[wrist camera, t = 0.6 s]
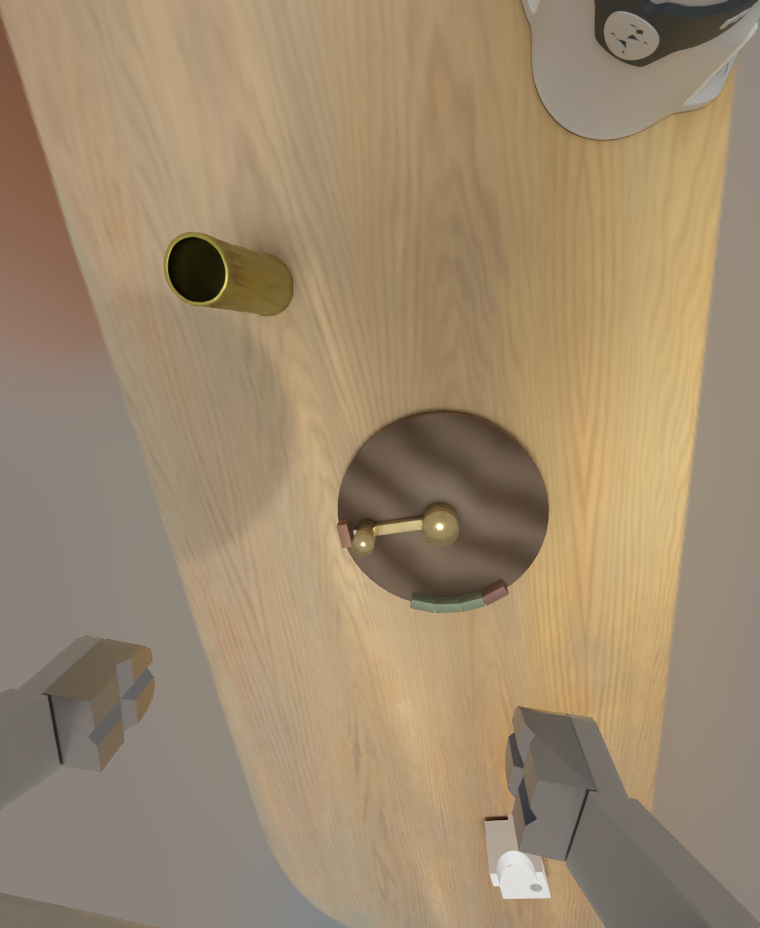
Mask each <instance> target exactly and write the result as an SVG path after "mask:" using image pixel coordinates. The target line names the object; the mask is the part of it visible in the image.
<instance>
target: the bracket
mask: <svg viewBox="0 0 760 928" xmlns="http://www.w3.org/2000/svg"><path fill="white" fill-rule="evenodd" d="M485 830H486V841H487V851H488V861H489V871H490V876H491V880H492V883H493V886H500V889H501V892H502V895H503V899H521V898H551V896H550V891H549V886H548V881H547V876H546V871H545V867H544V863H543V859H542V857H541V856H537V855H532V854H528V853H523V852H519V850H518V844H517V838H516V833H515V827H514V821H513V815H508V820H499V821H485Z"/></svg>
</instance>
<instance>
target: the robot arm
mask: <svg viewBox="0 0 760 928" xmlns="http://www.w3.org/2000/svg"><path fill="white" fill-rule="evenodd" d="M522 4H523V8H524V11H525V13H526V16H527V19H528V21H529V24H530V26H531V35H532V69H533V76H534V80H535V84H536V88H537V91H538V93H539V96H540V98H541V100H542V102H543V104H544V106H545V107H546V109H547V110H548V112H549V113H550V114H551V115H552V117H553V118H554V119H555V120H556V121H557V122H558V123H559V124H561V125H562V126H563V127H564V128H566V129H568V130H569V131H571V132H573V133H575V134H577V135H580V136H583V137H586V138H591V139H599V140H609V139H617V138H622V137H626V136H629V135H632V134H635V133H637V132H639V131H642V130H644V129H646V128H648V127H649V126H651V125H653V124H654V123H656V122H658V121H659V120H661V119H663V118H664V117H666V116H668V115H670V114H673V113H678V112H685V111H691V110H696V109H699V108H702V107H705V106H707V105H708V104H710V103H711V102H712V101H713V100H714V99H715V98H716V96H717V95H718V94H719V93H720V92H721V90H722V88H723V86H724V84H725V82H726V80H727V78H728V75H729V73H730V71H731V69H732V67H733V65H734V62H735V60H736V58H737V56H738V54H739V52H740V49H741V48H742V47H743V46H744V45H745V44H746V43H747V42H748V41H749V40H750V38H751V37H752V36H753V35H754V33H755V32H756V30H757V28H758V23H757V20H758V18H759V16H760V0H522ZM152 661H153V660H152V653H151V649H150V648H148V647H146V646H141V645H136V644H131V643H126V642H120V641H115V640H110V639H102V638H97V637H92V636H87V635H86V636H83V637H80V638H77V639H76V640H75V641H74V642H73V643H71V644H70V645H69V646H68V647H67V648H65V650H63V651H62V652H61V653H60V654H58V655H57V656H56V657H55V658H54V659H53V660H52V661H50V662H49V663H48V664H47V665H46V666H44V667H43V668H42V669H41V670H40V671H39V672H37V673H36V674H35V675H34V676H33V677H31V678H30V679H29V680H28V681H27V682H26V683H24V684H23V685H22V686H21V687H20V688H19V689H17V690H14V689H9V690H6V691H4V692H2V693H0V810H1V809H2V808H3V807H5V806H7V805H8V804H9V803H11V802H12V801H14V800H15V799H17V798H18V797H20V796H21V795H23V794H24V793H26V792H27V791H28V790H30V789H31V788H33V787H34V786H36V785H37V784H39V783H40V782H42V781H43V780H45V779H46V778H48V777H49V776H50V775H52V774H53V773H55V772H56V771H58V770H59V769H60V768H61V766H66V767H73V768H79V769H85V770H92V771H99V772H101V771H102V770H103V769H104V767H105V766H106V765H107V763H108V762H109V761H110V760H111V758H112V757H113V756H114V754H115V753H116V751H117V750H118V749H119V748H120V746H121V745H122V744H123V742H124V731H125V730H127V729H129V728H130V727H132V726H134V725H136V724H137V723H138V722H139V721H140V720H141V718H142V717H143V716H144V714H145V713H146V711H147V709H148V707H149V705H150V702H151V700H152V698H153V693H154V687H155V683H154V676H153V675H152V674H151V672H150V671H149V670H148V668H147V667H148V666H149V665H150V663H151V662H152ZM512 722H513V727H514V733H513V734H511V735H510V736H509V737H508V741H507V746H506V759H505V767H506V778H507V785H508V790H509V791H510V792H511V794H512V795H513V796H514V798H515V803H514V807H513V811H512V815H513V821H514V827H515V833H516V838H517V844H518V850H519V852H523V853H528V854H532V855H537V856H541V857H546V858H550V859H555V860H559V861H564V862H566V864H565V865H566V866H567V868H568V870H569V871H570V873H571V874H572V876H573V877H574V879H575V880H576V882H577V884H578V885H579V887H580V888H581V890H582V891H583V893H584V894H585V896H586V897H587V899H588V901H589V902H590V904H591V905H592V907H593V908H594V910H595V911H596V913H597V915H598V916H599V918H600V919H601V921H602V922H603V924H604V925H605V927H606V928H760V922H759V921H758V920H757V919H756V918H755V917H754V916H753V915H752V914H751V913H750V912H749V911H748V910H747V909H746V908H745V907H744V906H743V905H742V904H741V903H740V902H739V901H738V900H737V899H736V898H735V897H734V896H733V895H732V894H731V893H730V892H729V891H728V890H727V889H726V888H725V887H724V886H723V885H722V884H721V883H719V881H718V880H717V879H716V878H715V877H714V876H713V875H712V874H711V873H710V872H709V871H708V870H707V869H706V868H705V867H704V866H703V865H702V864H701V863H700V862H699V861H698V860H697V859H696V858H695V857H694V856H693V855H692V854H691V853H690V852H689V851H688V850H687V849H686V848H685V847H684V846H683V845H682V844H681V843H679V841H678V840H677V839H676V838H675V837H674V836H673V835H672V834H671V833H670V832H669V831H668V830H667V829H666V828H665V827H664V826H663V825H662V824H661V823H660V822H659V821H658V820H657V819H656V818H655V817H654V816H653V815H652V814H651V813H650V812H649V811H648V810H647V809H646V808H645V807H644V806H643V805H642V804H641V803H640V802H639V801H638V800H637V799H633V798H628V796H627V793H626V791H625V789H624V786H623V784H622V782H621V779H620V777H619V775H618V772H617V770H616V768H615V765H614V763H613V761H612V758H611V756H610V754H609V751H608V749H607V747H606V744H605V742H604V740H603V737H602V735H601V733H600V730H599V728H598V726H597V723H596V722H595V720H594V719H593V718H592V717H586V716H579V715H573V714H564V713H559V712H552V711H546V710H539V709H533V708H526V707H519V706H517V708H516V709H515V711H514V715H513V719H512ZM0 928H159V927H154V926H150V925H146V924H141V923H136V922H132V921H127V920H123V919H118V918H114V917H109V916H105V915H100V914H96V913H91V912H86V911H82V910H77V909H73V908H68V907H64V906H59V905H55V904H50V903H46V902H41V901H36V900H32V899H27V898H23V897H18V896H13V895H9V894H5V893H0Z"/></svg>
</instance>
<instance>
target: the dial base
mask: <svg viewBox="0 0 760 928" xmlns="http://www.w3.org/2000/svg"><path fill="white" fill-rule="evenodd" d="M434 503H446V504H448V505H450V506H451V507H453V508H454V510H455V511H456V513H457V517H458V526H459V534H458V537H457V539H456V540H455V541H454V542H453V543H452V544H451V545H448V546H446V547H436V546H433V545H431V544H429V543H428V542H427V541H426V540H425V539H424V537H423V535H422V530H414V531H407V532H399V533H392V534H385V535H377V537H376V541H375V544H374V548H373V551H372V553H371V554H370V555H368V556H365V557H361V556H358V555H356V554H355V553H354V552H353V550H352V547H351V544H352V541H353V539H354V536H355V535H354V533H353V529H355V528H358V526H359V524H360V522H361V521H363V520H366V519H369V520H372V521H374V522H375V523H381V522H388V521H395V520H402V519H409V518H417V517H423V513H424V511H425V509H426V508H427V507H428V506H430V505H431V504H434ZM548 513H549V506H548V498H547V493H546V489H545V486H544V482H543V480H542V477H541V475H540V473H539V471H538V469H537V467H536V466H535V464H534V463H533V461H532V459H531V458H530V456H529V455H528V454H527V452H526V451H525V450H524V449H523V448H522V446H521V445H520V444H519V443H518V442H517V441H516V440H515V439H514V438H513V437H511V436H510V435H509V434H508V433H507V432H505V431H504V430H502V429H501V428H499V427H497V426H496V425H494V424H492V423H490V422H488V421H486V420H484V419H481V418H478V417H475V416H472V415H468V414H463V413H457V412H444V411H438V412H426V413H421V414H416V415H412V416H409V417H406V418H403V419H400V420H398V421H396V422H394V423H392V424H390V425H388V426H386V427H385V428H383V429H382V430H380V431H379V432H378V433H376V434H375V435H374V436H373V437H372V438H371V439H369V440H368V441H367V442H366V443H365V444H364V446H363V447H362V448H361V449H360V450H359V452H358V453H357V455H356V456H355V458H354V459H353V461H352V463H351V464H350V466H349V467H348V470H347V472H346V474H345V476H344V478H343V481H342V485H341V488H340V492H339V499H338V519H339V522H338V524H337V529H338V533H339V537H340V541H341V545H342V548H346V547H347V550H348V551H349V553H350V555H351V556H352V558H353V560H354V561H355V563H356V564H357V565H358V566H359V568H360V569H361V570H362V571H363V572H364V573H365V574H366V575H367V576H368V577H369V578H370V579H371V580H372V581H374V582H375V583H376V584H377V585H379V586H380V587H382V588H383V589H385V590H387V591H388V592H390V593H392V594H394V595H396V596H398V597H400V598H403V599H406V600H409V601H411V606H410V608H413V609H418V610H423V611H428V612H433V613H434V611H435V610H436V613H451V612H460V609H461V611H462V612H464V611H468V610H472V609H476V608H480V607H484V606H485V603H486V605H489V604H491V603H493V602H495V601H497V600H499V599H501V598H502V597H504V596H506V595H508V594H509V593H508V589H507V587H508V586H510V585H511V584H513V583H514V582H515V581H516V580H517V579H518V578H519V577H521V576H522V575H523V573H524V572H525V571H526V570H527V569H528V568H529V567H530V565H531V564H532V562H533V561H534V559H535V558H536V556H537V555H538V552H539V550H540V548H541V546H542V544H543V541H544V538H545V535H546V531H547V525H548Z"/></svg>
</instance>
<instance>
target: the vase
mask: <svg viewBox="0 0 760 928" xmlns="http://www.w3.org/2000/svg"><path fill="white" fill-rule="evenodd" d="M164 273H165V277H166V280H167V282H168V285H169V286H170V288H171V290H172V291H173V292H174V293H175V294H176V295H177V296H178V297H179V298H180V299H181V300H182V301H184V302H186V303H188V304H191V305H194V306H205V307H211V308H219V309H226V310H234V311H241V312H248V313H254V314H259V315H262V316H272V315H276V314H278V313H280V312H281V311H283V310H284V309H285V308H286V307H287V305H288V304H289V302H290V300H291V297H292V291H293V282H292V278H291V275H290V272H289V270H288V269H287V267H286V266H285V265H284V264H283V263H282V262H281V261H280V260H279V259H278V258H276V257H274V256H271V255H267V254H262V253H259V252H256V251H252V250H249V249H246V248H243V247H239V246H235V245H231V244H229V243H226V242H223V241H221V240H218V239H216V238H213V237H212V236H209V235H207V234H202V233H195V232H188V233H184V234H181V235H179V236H177V237H176V238H175V239H174V240H172V241H171V243H170V244H169V246H168V248H167V251H166V253H165V258H164Z"/></svg>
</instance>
